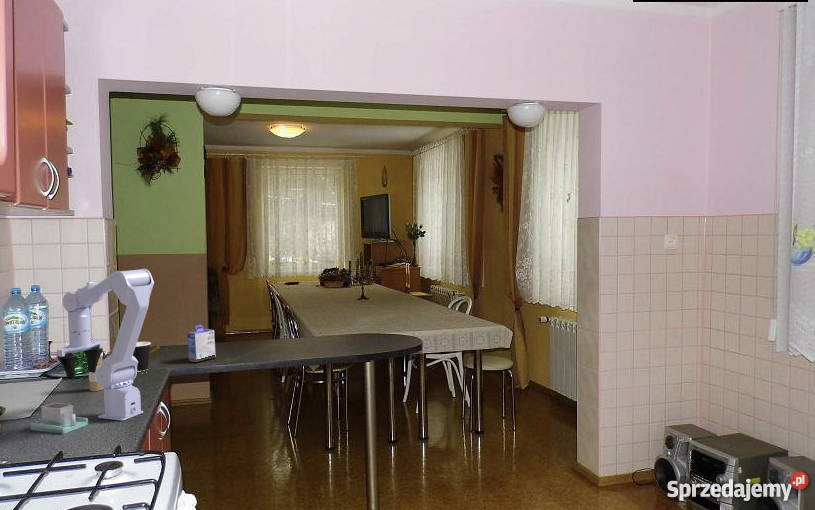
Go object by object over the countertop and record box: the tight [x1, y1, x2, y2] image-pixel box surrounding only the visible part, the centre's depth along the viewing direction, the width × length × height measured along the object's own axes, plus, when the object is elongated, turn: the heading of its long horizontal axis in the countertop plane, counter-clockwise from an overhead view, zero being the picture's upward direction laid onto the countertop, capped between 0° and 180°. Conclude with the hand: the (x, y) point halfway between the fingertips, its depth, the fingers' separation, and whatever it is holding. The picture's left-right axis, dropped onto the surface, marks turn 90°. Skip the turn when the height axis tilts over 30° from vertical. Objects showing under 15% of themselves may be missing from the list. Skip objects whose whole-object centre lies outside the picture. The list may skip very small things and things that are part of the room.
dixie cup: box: [133, 341, 152, 372], centre depth 230 cm, size 8×8×11 cm
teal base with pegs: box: [29, 413, 89, 435], centre depth 168 cm, size 12×8×4 cm, turn 70°
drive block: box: [40, 402, 74, 427], centre depth 168 cm, size 7×4×5 cm, turn 70°
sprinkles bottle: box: [88, 351, 104, 392], centre depth 206 cm, size 5×5×13 cm
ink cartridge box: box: [186, 324, 216, 360], centre depth 248 cm, size 10×6×14 cm, turn 148°
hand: (81, 375), depth 184 cm, fingers open, 7 cm apart
